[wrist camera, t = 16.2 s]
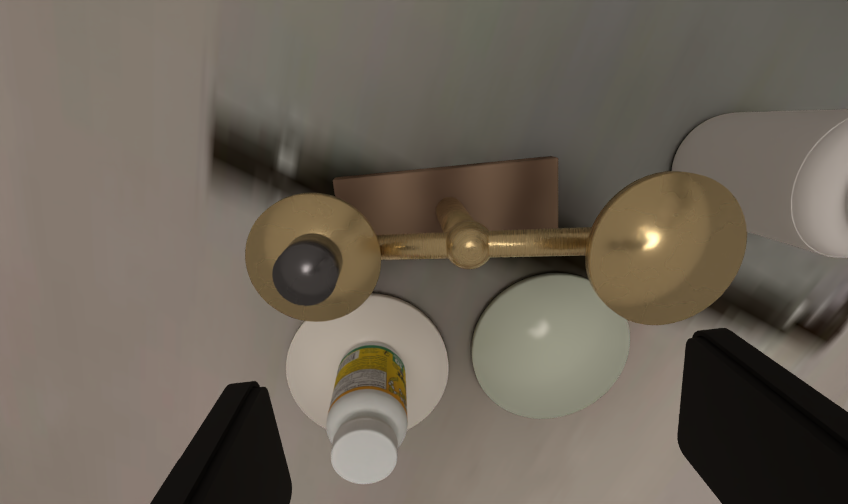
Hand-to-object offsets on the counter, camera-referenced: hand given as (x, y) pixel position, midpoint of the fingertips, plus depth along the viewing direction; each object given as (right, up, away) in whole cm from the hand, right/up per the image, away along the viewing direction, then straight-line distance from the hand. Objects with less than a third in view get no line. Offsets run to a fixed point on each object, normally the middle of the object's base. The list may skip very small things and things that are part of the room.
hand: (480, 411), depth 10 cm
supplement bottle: (-5, -6, +26) cm, 27 cm away
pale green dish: (+9, -4, +27) cm, 29 cm away
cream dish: (-6, -6, +27) cm, 28 cm away
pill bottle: (+21, +10, +24) cm, 34 cm away
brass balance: (0, +7, +24) cm, 25 cm away
